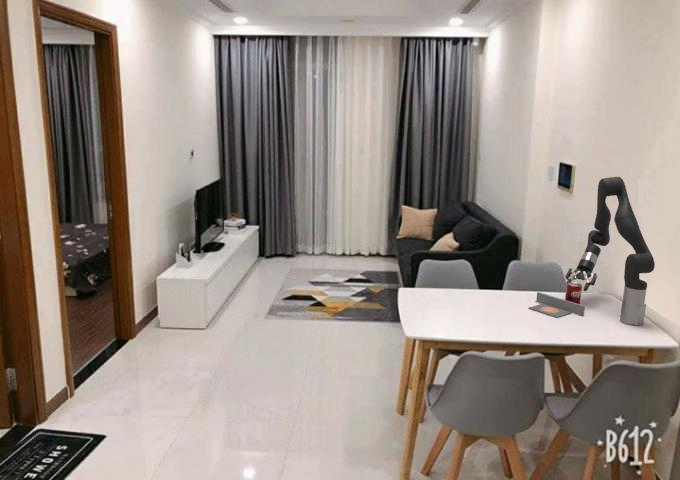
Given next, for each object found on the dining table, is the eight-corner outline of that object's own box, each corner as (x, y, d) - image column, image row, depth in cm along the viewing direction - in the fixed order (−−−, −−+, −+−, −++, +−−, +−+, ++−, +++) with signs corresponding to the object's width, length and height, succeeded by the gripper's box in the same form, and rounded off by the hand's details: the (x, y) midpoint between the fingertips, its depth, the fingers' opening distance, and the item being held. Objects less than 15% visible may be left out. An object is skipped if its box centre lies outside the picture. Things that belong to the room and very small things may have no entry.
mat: (571, 313, 272) (571, 312, 272) (556, 318, 265) (557, 316, 265) (542, 304, 285) (543, 303, 285) (528, 308, 278) (528, 307, 278)
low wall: (583, 315, 270) (584, 306, 269) (582, 316, 269) (583, 306, 268) (537, 301, 290) (538, 292, 289) (536, 301, 290) (537, 292, 289)
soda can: (561, 305, 284) (563, 283, 282) (571, 303, 288) (574, 281, 285) (572, 309, 278) (575, 287, 276) (582, 308, 281) (585, 285, 279)
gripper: (572, 256, 291) (560, 281, 285) (600, 261, 281) (588, 287, 275) (575, 264, 295) (563, 289, 290) (602, 269, 286) (591, 295, 280)
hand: (576, 288), depth 283 cm, fingers open, 8 cm apart
